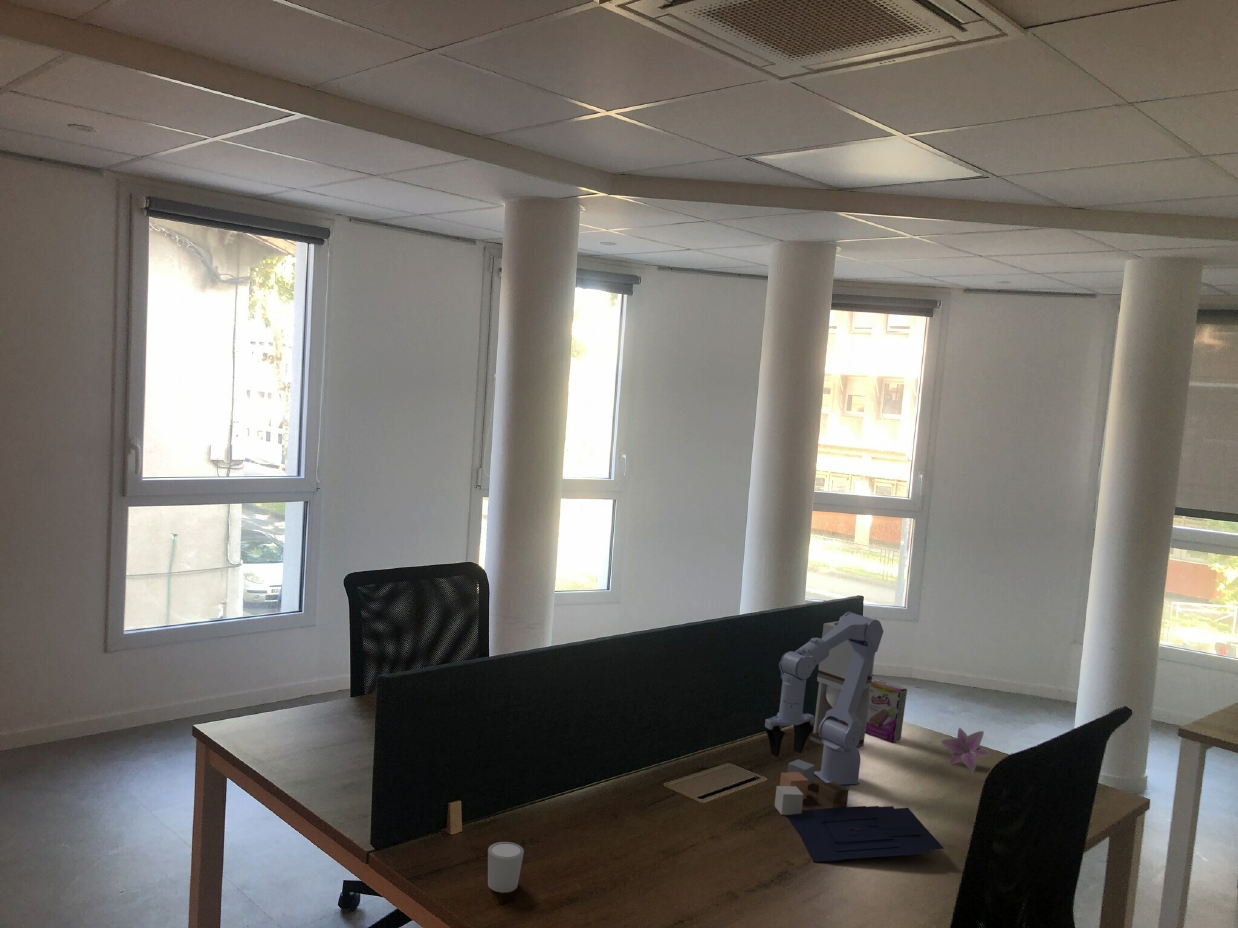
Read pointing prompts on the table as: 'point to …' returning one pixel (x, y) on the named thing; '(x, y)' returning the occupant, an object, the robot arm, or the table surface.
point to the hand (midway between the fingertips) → (786, 753)
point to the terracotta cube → (795, 781)
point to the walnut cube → (832, 795)
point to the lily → (966, 748)
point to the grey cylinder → (504, 866)
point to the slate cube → (802, 769)
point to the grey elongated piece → (838, 685)
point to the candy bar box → (885, 710)
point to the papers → (862, 832)
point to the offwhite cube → (788, 800)
